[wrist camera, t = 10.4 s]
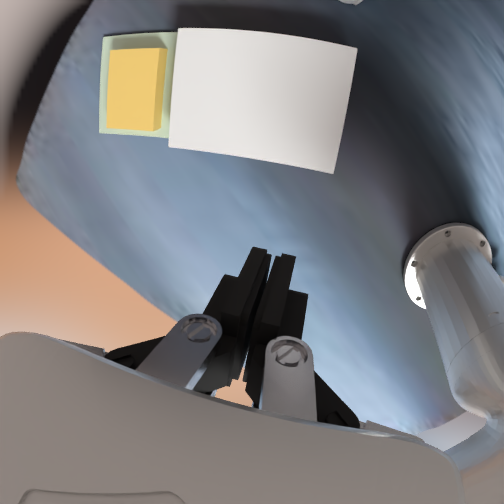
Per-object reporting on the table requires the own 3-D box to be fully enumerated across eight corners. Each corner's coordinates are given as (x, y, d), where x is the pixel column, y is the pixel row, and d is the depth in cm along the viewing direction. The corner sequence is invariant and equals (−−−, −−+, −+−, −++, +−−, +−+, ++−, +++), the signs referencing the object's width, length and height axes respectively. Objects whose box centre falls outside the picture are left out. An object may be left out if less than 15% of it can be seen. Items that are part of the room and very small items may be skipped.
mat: (190, 32, 27) (189, 31, 27) (180, 138, 34) (179, 139, 33) (105, 37, 28) (103, 37, 28) (101, 132, 34) (99, 133, 34)
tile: (110, 50, 27) (119, 50, 28) (106, 128, 32) (115, 124, 33) (159, 48, 26) (167, 48, 28) (153, 131, 31) (161, 128, 33)
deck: (351, 51, 26) (357, 48, 22) (330, 162, 32) (333, 173, 29) (193, 32, 27) (178, 28, 24) (183, 138, 34) (168, 146, 30)
